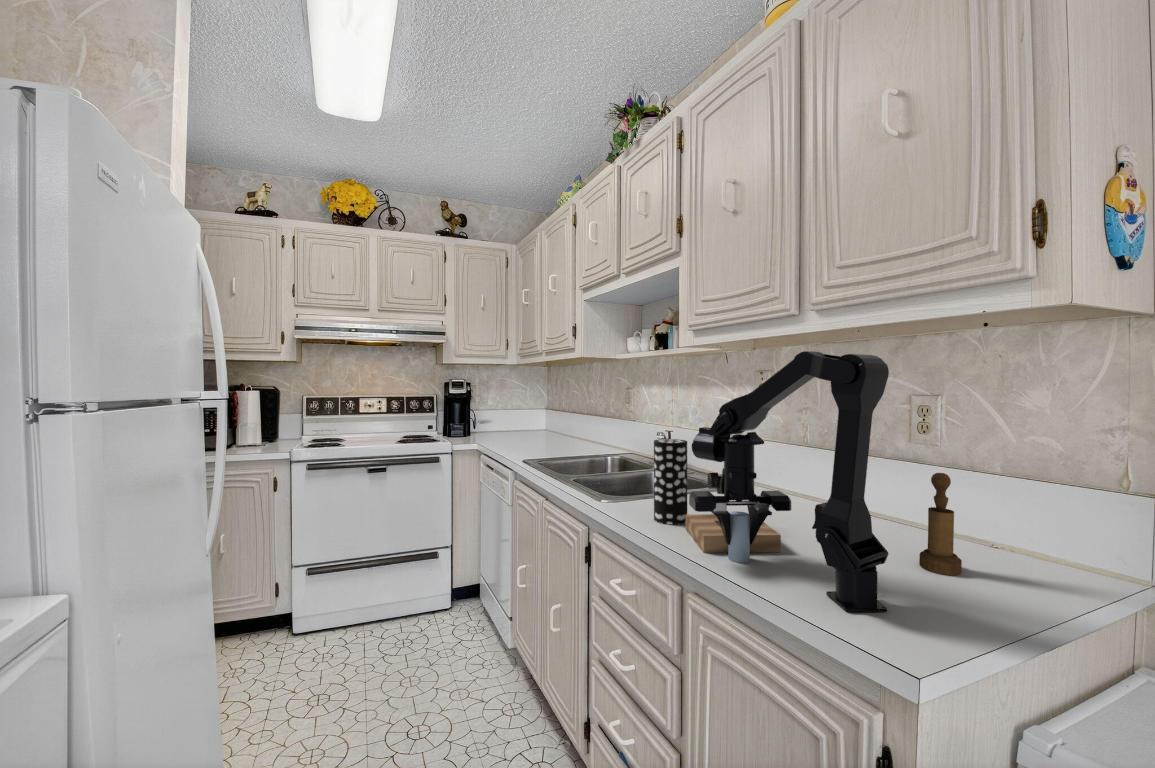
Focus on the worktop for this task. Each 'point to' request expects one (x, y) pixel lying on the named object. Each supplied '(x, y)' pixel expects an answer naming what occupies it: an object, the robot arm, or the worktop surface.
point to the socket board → (712, 538)
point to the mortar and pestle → (940, 533)
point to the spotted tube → (670, 481)
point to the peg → (739, 537)
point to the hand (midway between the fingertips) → (739, 544)
